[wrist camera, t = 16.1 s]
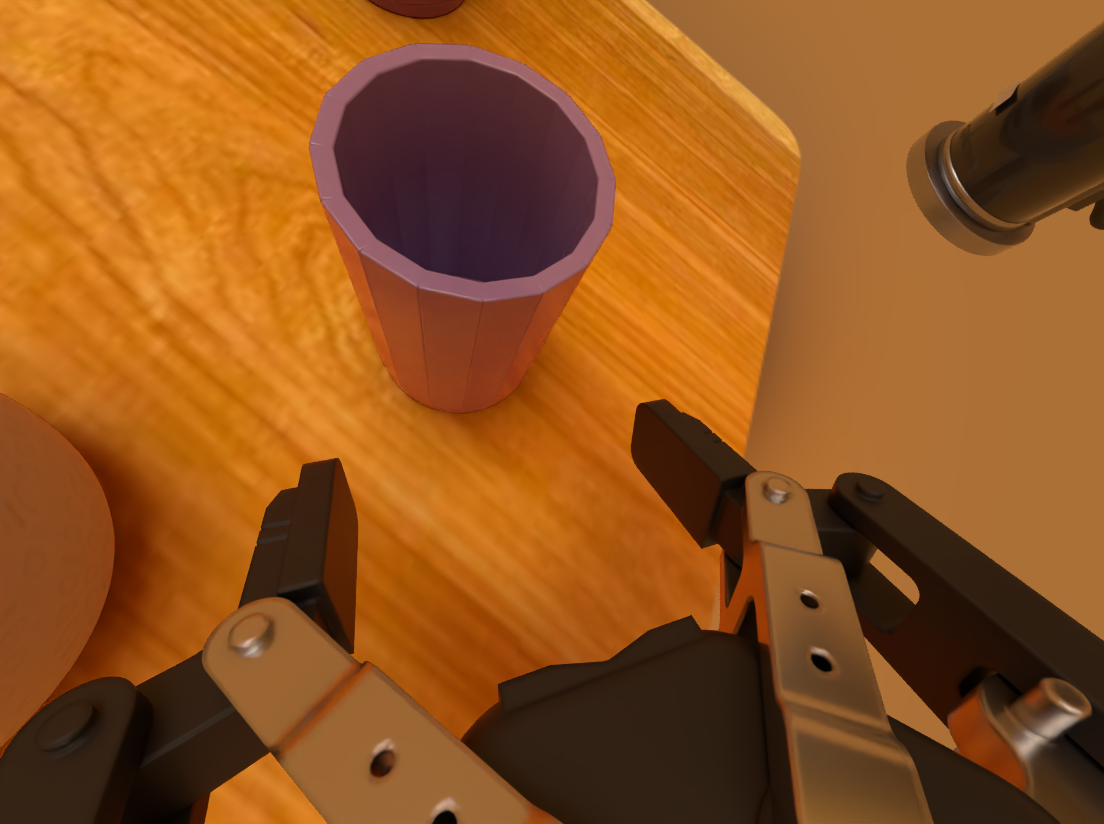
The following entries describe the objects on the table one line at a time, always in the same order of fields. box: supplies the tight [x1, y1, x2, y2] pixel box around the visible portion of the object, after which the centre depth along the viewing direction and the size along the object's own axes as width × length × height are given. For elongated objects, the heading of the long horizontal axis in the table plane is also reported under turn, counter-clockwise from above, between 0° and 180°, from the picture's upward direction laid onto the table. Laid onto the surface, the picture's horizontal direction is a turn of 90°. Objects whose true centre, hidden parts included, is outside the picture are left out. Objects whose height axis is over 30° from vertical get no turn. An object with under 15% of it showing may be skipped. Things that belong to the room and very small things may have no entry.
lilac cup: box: [309, 43, 616, 413], centre depth 14 cm, size 6×6×10 cm
